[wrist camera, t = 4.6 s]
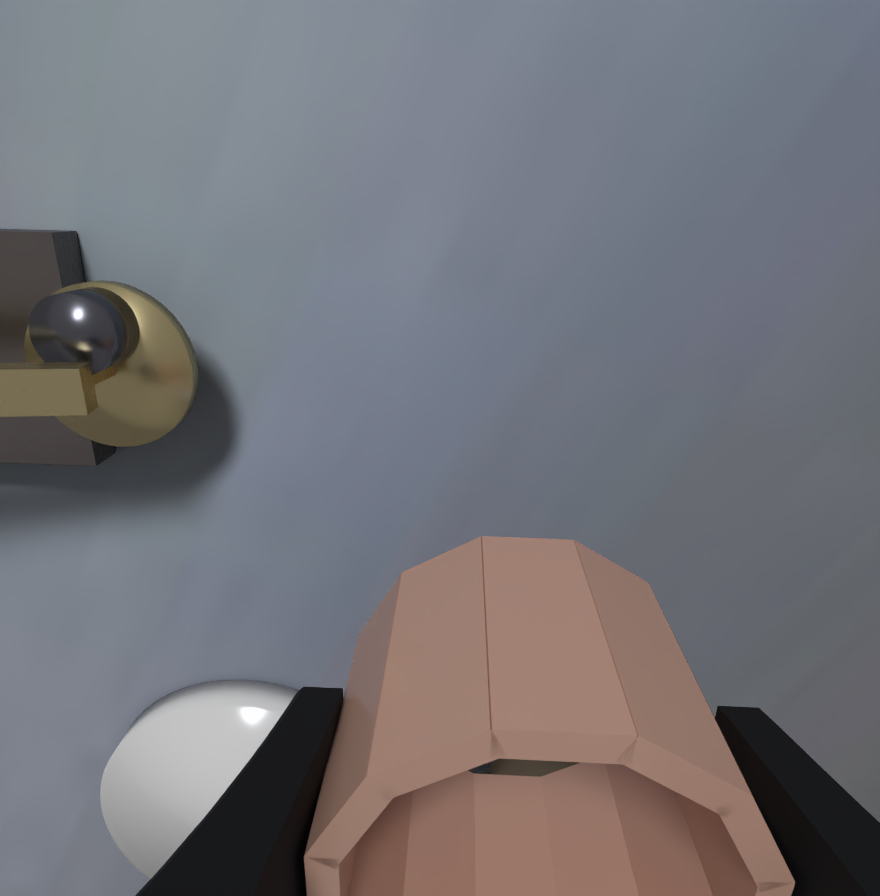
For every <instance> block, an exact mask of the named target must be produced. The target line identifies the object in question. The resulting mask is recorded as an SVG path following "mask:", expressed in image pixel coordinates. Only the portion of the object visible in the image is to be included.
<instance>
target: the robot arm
mask: <svg viewBox="0 0 880 896" xmlns="http://www.w3.org/2000/svg"><path fill="white" fill-rule="evenodd" d="M342 704H343V689H342V688H320V687H303V688H302V689H300V690H299V691H298V692H297V693H296V694H295V696H294V697H293V699H292V700H291V702H290V704H289V705H288V707H287V708H286V710H285V711H284V712H283V714H282V715H281V717H280V718H279V720H278V721H277V723H276V724H275V726H274V727H273V728H272V730H271V731H270V733H269V734H268V735H267V737H266V738H265V740H264V741H263V742H262V744H261V745H260V746H259V748H258V749H257V750H256V752H255V753H254V754H253V756H252V757H251V759H250V760H249V761H248V763H247V764H246V765H245V766H244V768H243V769H242V770H241V772H240V773H239V774H238V775H237V777H236V778H235V779H234V780H233V782H232V783H231V784H230V786H229V787H228V788H227V789H226V791H225V792H224V793H223V795H222V796H221V797H220V798H219V800H218V801H217V802H216V804H215V805H214V806H213V807H212V808H211V810H210V811H209V812H208V813H207V815H206V816H205V817H204V818H203V819H202V821H201V822H200V823H199V824H198V825H197V826H196V827H195V829H194V830H193V831H192V832H191V833H190V834H189V836H188V837H187V838H186V839H185V840H184V841H183V843H182V844H181V845H180V846H179V847H178V848H177V850H176V851H175V852H174V853H173V854H172V855H171V857H170V858H169V859H168V860H167V861H166V862H165V864H164V865H163V866H162V867H161V868H160V869H159V870H158V872H157V873H156V874H155V875H154V876H153V877H152V878H151V879H150V880H149V881H148V883H147V884H146V885H145V886H144V887H143V888H142V889H141V890H140V891H139V892H138V893H137V895H136V896H307V890H306V877H305V865H304V855H305V851H306V847H307V843H308V839H309V834H310V830H311V826H312V822H313V818H314V814H315V810H316V806H317V802H318V798H319V794H320V790H321V786H322V782H323V778H324V774H325V770H326V766H327V763H328V759H329V756H330V752H331V748H332V744H333V740H334V736H335V732H336V728H337V724H338V720H339V716H340V712H341V708H342ZM715 719H716V721H717V723H718V725H719V727H720V729H721V731H722V733H723V736H724V738H725V740H726V742H727V744H728V746H729V748H730V750H731V752H732V754H733V756H734V758H735V760H736V762H737V764H738V766H739V768H740V770H741V772H742V774H743V776H744V778H745V780H746V782H747V785H748V787H749V789H750V791H751V793H752V795H753V797H754V799H755V801H756V803H757V805H758V807H759V809H760V811H761V813H762V815H763V817H764V819H765V821H766V823H767V825H768V827H769V829H770V832H771V834H772V836H773V838H774V840H775V842H776V844H777V846H778V848H779V850H780V852H781V854H782V856H783V858H784V860H785V862H786V864H787V866H788V868H789V870H790V872H791V874H792V876H793V879H794V881H795V886H794V889H793V892H792V895H791V896H880V823H879V822H878V821H877V820H876V819H875V818H874V817H873V816H872V815H871V814H870V813H869V812H868V811H866V810H865V809H864V808H863V807H862V806H861V805H860V804H859V803H858V802H857V801H856V800H855V799H854V798H853V797H852V796H851V795H850V794H848V793H847V792H846V791H845V790H844V789H843V788H842V787H841V786H840V785H839V784H838V783H837V782H836V781H835V780H834V779H833V778H832V777H831V776H830V775H829V774H828V773H827V772H825V771H824V770H823V769H822V768H821V767H820V766H819V765H818V764H817V763H816V762H815V761H814V760H813V759H812V758H811V757H810V756H809V755H808V754H807V753H806V752H805V751H804V750H803V749H802V748H801V747H800V746H799V745H797V744H796V743H795V742H794V741H793V740H792V739H791V738H790V737H789V736H788V735H787V734H786V733H785V732H784V731H783V730H782V729H781V728H780V727H779V726H778V725H777V724H776V723H775V722H773V721H772V720H771V719H770V718H769V717H768V716H767V715H766V714H765V713H764V712H763V711H762V710H761V709H759V708H751V707H730V706H718V708H717V712H716V716H715Z"/></svg>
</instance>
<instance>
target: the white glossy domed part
mask: <svg viewBox="0 0 880 896" xmlns="http://www.w3.org/2000/svg"><path fill="white" fill-rule="evenodd" d="M298 691H299V690H295V689H292V688H289V687H286V686H282V685H277V684H272V683H268V682H261V681H251V680H220V681H211V682H204V683H200V684H196V685H192V686H188V687H185V688H183V689H180V690H177V691H174V692H172V693H170V694H168V695H166V696H165V697H163V698H161V699H159V700H157V701H156V702H155V703H153V704H152V705H151V706H149V707H148V708H147V709H145V710H144V711H143V712H142V713H141V714H140V716H139V717H138V718H137V719H136V720H135V721H134V723H133V724H132V726H131V727H130V728H129V730H128V731H127V733H126V734H125V736H124V738H123V739H122V741H121V742H120V744H119V745H118V747H117V748H116V750H115V752H114V753H113V755H112V756H111V758H110V759H109V761H108V764H107V766H106V768H105V770H104V773H103V777H102V782H101V790H100V801H101V808H102V814H103V817H104V820H105V823H106V826H107V828H108V830H109V832H110V834H111V836H112V838H113V840H114V841H115V843H116V844H117V846H118V847H119V849H120V850H121V851H122V853H123V854H124V855H125V856H126V857H127V858H128V859H129V861H130V862H131V863H132V864H133V865H134V866H135V867H136V868H138V869H139V870H140V871H141V872H142V873H143V874H144V875H146V876H147V877H148V878H150V879H151V878H152V877H153V876H154V875H155V874H156V873H157V872H158V870H159V869H160V868H161V867H162V866H163V865H164V864H165V862H166V861H167V860H168V859H169V858H170V857H171V855H172V854H173V853H174V852H175V851H176V850H177V848H178V847H179V846H180V845H181V844H182V843H183V841H184V840H185V839H186V838H187V837H188V836H189V834H190V833H191V832H192V831H193V830H194V829H195V827H196V826H197V825H198V824H199V823H200V822H201V821H202V819H203V818H204V817H205V816H206V815H207V813H208V812H209V811H210V810H211V808H212V807H213V806H214V805H215V804H216V802H217V801H218V800H219V798H220V797H221V796H222V795H223V793H224V792H225V791H226V789H227V788H228V787H229V786H230V784H231V783H232V782H233V780H234V779H235V778H236V777H237V775H238V774H239V773H240V772H241V770H242V769H243V768H244V766H245V765H246V764H247V763H248V761H249V760H250V759H251V757H252V756H253V754H254V753H255V752H256V750H257V749H258V748H259V746H260V745H261V744H262V742H263V741H264V740H265V738H266V737H267V735H268V734H269V733H270V731H271V730H272V728H273V727H274V726H275V724H276V723H277V721H278V720H279V718H280V717H281V715H282V714H283V712H284V711H285V710H286V708H287V707H288V705H289V704H290V702H291V700H292V699H293V697H294V696H295V694H296V693H297V692H298Z"/></svg>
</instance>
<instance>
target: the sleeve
mask: <svg viewBox="0 0 880 896" xmlns="http://www.w3.org/2000/svg"><path fill="white" fill-rule="evenodd" d="M499 758H500V759H520V760H541V761H561V762H581V763H578V764H575V765H572V766H570V767H567V768H564V769H561V770H559V771H556V772H553V773H550V774H547V775H545V776H542V777H534V776H514V775H494V774H474V773H472V772H470V771H468V770H469V769H472V768H475V767H478V766H480V765H483V764H486V763H488V762H491V761H494V760H496V759H499ZM304 865H305V877H306V890H307V896H791V895H792V892H793V889H794V886H795V881H794V879H793V876H792V874H791V872H790V870H789V868H788V866H787V864H786V862H785V860H784V858H783V856H782V854H781V852H780V850H779V848H778V846H777V844H776V842H775V840H774V838H773V836H772V834H771V832H770V829H769V827H768V825H767V823H766V821H765V819H764V817H763V815H762V813H761V811H760V809H759V807H758V805H757V803H756V801H755V799H754V797H753V795H752V793H751V791H750V789H749V787H748V785H747V782H746V780H745V778H744V776H743V774H742V772H741V770H740V768H739V766H738V764H737V762H736V760H735V758H734V756H733V754H732V752H731V750H730V748H729V746H728V744H727V742H726V740H725V738H724V736H723V733H722V731H721V729H720V727H719V725H718V723H717V721H716V719H715V717H714V715H713V713H712V711H711V709H710V707H709V705H708V703H707V701H706V699H705V697H704V695H703V693H702V691H701V689H700V686H699V684H698V682H697V680H696V678H695V676H694V674H693V672H692V670H691V668H690V666H689V664H688V662H687V660H686V658H685V656H684V654H683V652H682V650H681V648H680V646H679V644H678V642H677V640H676V638H675V636H674V634H673V632H672V630H671V628H670V626H669V624H668V622H667V620H666V618H665V616H664V613H663V611H662V609H661V607H660V605H659V603H658V601H657V599H656V597H655V595H654V593H653V591H652V589H651V587H650V585H649V583H648V582H646V581H644V580H643V579H641V578H639V577H638V576H636V575H634V574H632V573H631V572H629V571H627V570H625V569H624V568H622V567H620V566H618V565H617V564H615V563H613V562H612V561H610V560H608V559H606V558H605V557H603V556H601V555H599V554H598V553H596V552H594V551H593V550H591V549H589V548H587V547H586V546H584V545H582V544H580V543H579V542H577V541H575V540H565V539H540V538H514V537H489V536H482V538H481V537H479V538H476V539H474V540H472V541H470V542H468V543H465V544H463V545H461V546H459V547H457V548H454V549H452V550H450V551H448V552H446V553H443V554H441V555H439V556H437V557H435V558H432V559H430V560H428V561H426V562H424V563H421V564H419V565H417V566H415V567H413V568H410V569H408V570H406V571H404V572H402V573H401V574H400V576H399V577H398V579H397V580H396V581H395V583H394V584H393V586H392V587H391V589H390V590H389V592H388V593H387V594H386V596H385V597H384V599H383V600H382V602H381V603H380V605H379V606H378V607H377V609H376V610H375V612H374V613H373V615H372V616H371V618H370V619H369V620H368V622H367V623H366V625H365V626H364V628H363V629H362V631H361V632H360V634H359V637H358V641H357V645H356V649H355V653H354V657H353V661H352V665H351V669H350V673H349V677H348V681H347V685H346V689H345V693H344V697H343V704H342V708H341V712H340V716H339V720H338V724H337V728H336V732H335V736H334V740H333V744H332V748H331V752H330V756H329V759H328V763H327V766H326V770H325V774H324V778H323V782H322V786H321V790H320V794H319V798H318V802H317V806H316V810H315V814H314V818H313V822H312V826H311V830H310V834H309V839H308V843H307V847H306V851H305V855H304Z"/></svg>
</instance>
